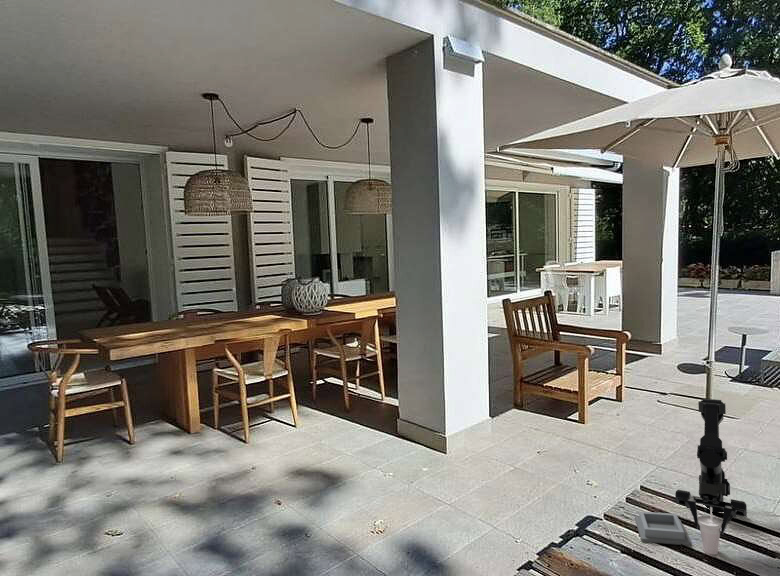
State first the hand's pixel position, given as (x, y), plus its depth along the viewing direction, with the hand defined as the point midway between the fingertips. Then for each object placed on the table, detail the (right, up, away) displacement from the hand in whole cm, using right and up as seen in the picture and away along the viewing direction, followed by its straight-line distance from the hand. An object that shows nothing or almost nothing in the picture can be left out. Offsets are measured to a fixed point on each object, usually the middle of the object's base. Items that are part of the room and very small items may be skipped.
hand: (709, 530), depth 159 cm
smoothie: (+1, -7, +2) cm, 7 cm away
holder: (-7, -7, +14) cm, 17 cm away
